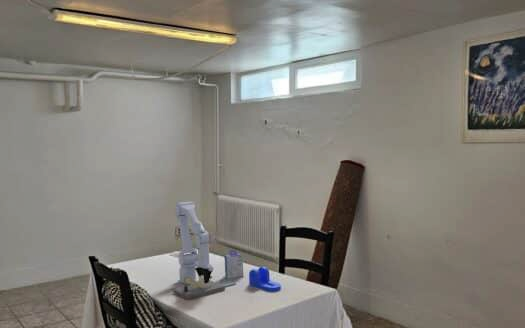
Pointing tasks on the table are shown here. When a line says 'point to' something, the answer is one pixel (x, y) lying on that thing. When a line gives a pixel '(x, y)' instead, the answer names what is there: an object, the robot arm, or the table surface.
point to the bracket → (262, 280)
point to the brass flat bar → (191, 283)
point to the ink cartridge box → (233, 265)
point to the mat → (226, 283)
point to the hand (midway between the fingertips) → (204, 281)
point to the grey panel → (198, 291)
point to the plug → (205, 285)
